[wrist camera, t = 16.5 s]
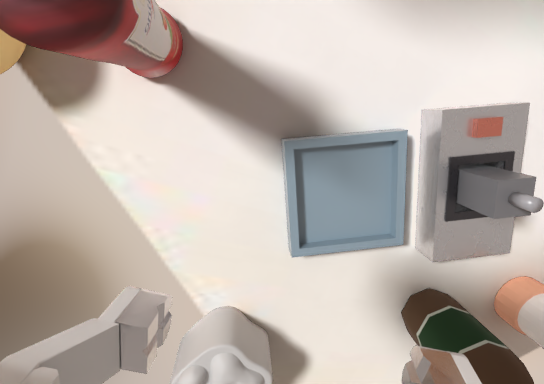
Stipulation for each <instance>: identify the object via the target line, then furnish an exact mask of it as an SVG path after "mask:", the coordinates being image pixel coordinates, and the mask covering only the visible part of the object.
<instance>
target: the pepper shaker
mask: <svg viewBox="0 0 544 384" xmlns="http://www.w3.org/2000/svg"><path fill="white" fill-rule="evenodd" d="M494 307H495V311H496V313H497V314H498V315H499V316H500V317H501V318H502V319H503V320H505V321H506V322H507V323H508V324H509V325H511V326H512V327H513V328H514V329H516V330H517V331H518V332H520V333H522V334H524V335H528V336H529V337H530V338H531V339H532V340H534V341H535V342H536V343H537V344H538V345H540V346H541V347H542V348H543V349H544V285H543V284H542V283H540V282H538V281H536V280H535V279H533V278H530V277H526V276H524V277H517V278H514V279H512V280H510V281H508V282H507V283H506V284H504V285H503V286H502V287H501V288H500V290H499V291H498V293H497V295H496V297H495V301H494Z"/></svg>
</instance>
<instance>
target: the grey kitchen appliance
mask: <svg viewBox="0 0 544 384" xmlns="http://www.w3.org/2000/svg"><path fill="white" fill-rule="evenodd" d="M529 106H530V103H497V104H485V105H472V106H460V107H448V108H436V109H424V110H422V116H421V137H420V158H419V179H418V200H417V221H416V242H415V248H416V249H417V250H418V251H419V252H421V253H422V254H423V255H424V256H426V257H427V258H428V259H429V260H431V261H432V262H438V261H447V260H455V259H463V258H472V257H480V256H489V255H497V254H505V253H510V247H511V240H512V232H513V225H514V218H515V217H509V218H500V219H492V218H490V217H488V216H485V215H483V214H481V213H479V212H476V211H474V210H472V209H469V208H467V207H465V206H463V205H460V204H458V203H456V192H457V179H458V167H459V165H469V164H483V165H487V166H491V167H496V168H500V169H504V170H508V171H513V172H517V173H521V166H522V158H523V151H524V143H525V136H526V128H527V121H528V114H529Z"/></svg>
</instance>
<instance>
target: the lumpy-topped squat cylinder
mask: <svg viewBox="0 0 544 384" xmlns="http://www.w3.org/2000/svg"><path fill="white" fill-rule="evenodd" d="M170 384H273V375H272V366H271V357H270V349H269V340H268V335H267V333H266V331H265V330H264V329H263V328H261V327H260V326H258V325H256V324H254V323H252V322H251V321H250V320H249V319H248V318H247V317H246V316H245V315H244V314H243V313H242V312H241V311H240V310H238V309H237V308H235V307H231V306H224V307H219V308H216V309H214V310H212V311H211V312H209V313H208V314H207V315H205V316H204V317H203V318H201V319H200V320H199V321H198V322H197V323H196V324H194V326H192V328H190V330H189V331H188V332H187V333H186V334H185V335H184V337H183V338H182V340H181V342H180V346H179V350H178V353H177V357H176V361H175V365H174V369H173V372H172V377H171V380H170Z"/></svg>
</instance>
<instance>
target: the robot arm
mask: <svg viewBox="0 0 544 384" xmlns="http://www.w3.org/2000/svg"><path fill="white" fill-rule="evenodd" d="M171 306H172V296H171V295H169V294H164V293H160V292H155V291H151V290H147V289H141V288H137V287H133V286H127V287H125V288H124V289H123V290H122V292H121V293H120V294H119V295H118V296H117V297H116V298H115V299H114V301H113V302H112V303H111V304H110V305H109V306H108V308H107V309H106V310H105V311H104V312H103V313H102V315H101V316H100V317H99V318H98V319H95V318H92V319H90V320H88V321H86V322H83V323H81V324H79V325H77V326H74V327H72V328H70V329H68V330H66V331H64V332H61V333H59V334H56V335H54V336H52V337H50V338H47V339H45V340H43V341H41V342H39V343H36V344H34V345H32V346H30V347H27V348H25V349H23V350H20V351H18V352H16V353H14V354H11V355H9V356H7V357H5V358H4V359H3V360H2V361H1V362H0V384H102V383H104V382H105V381H106V380H108V379H109V378H110V377H112V376H113V375H115V374H116V373H117V372H119V371H120V369H122V370H129V371H133V372H139V373H144V374H147V372H148V371H149V369H150V367H151V365H152V363H153V362H154V360H155V358H156V356H157V348H158V347H159V346H161V345H163V343H164V341H165V339H166V337H167V334H168V332H169V329H170V324H171V314H170V312H169V309H170V308H171ZM410 356H411V359H412V360H411V361H409V362H408V363H406V364H405V366H404V369H403V372H402V384H482V383H481V381H480V380H479V378H478V376H477V374H476V373H475V371H474V369H473V367H472V366H471V364H470V362H469V360H468V359H467V357H466V356H465V355H463V354H460V353H454V352H449V351H442V350H437V349H432V348H427V347H422V346H417V345H415V346H414V347H413V348H412V350H411V352H410Z"/></svg>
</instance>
